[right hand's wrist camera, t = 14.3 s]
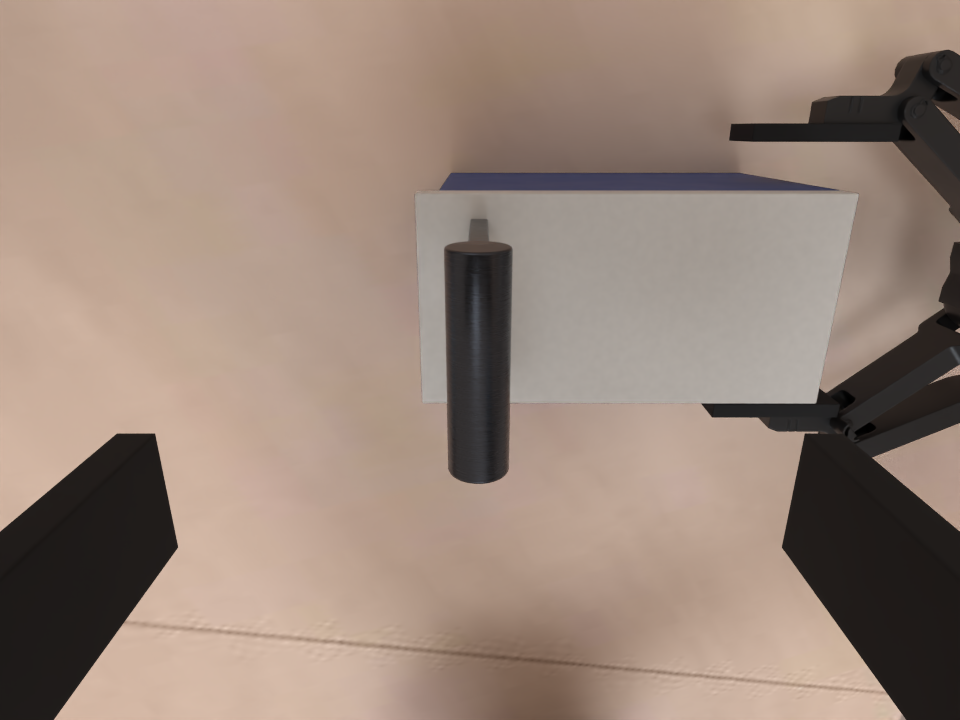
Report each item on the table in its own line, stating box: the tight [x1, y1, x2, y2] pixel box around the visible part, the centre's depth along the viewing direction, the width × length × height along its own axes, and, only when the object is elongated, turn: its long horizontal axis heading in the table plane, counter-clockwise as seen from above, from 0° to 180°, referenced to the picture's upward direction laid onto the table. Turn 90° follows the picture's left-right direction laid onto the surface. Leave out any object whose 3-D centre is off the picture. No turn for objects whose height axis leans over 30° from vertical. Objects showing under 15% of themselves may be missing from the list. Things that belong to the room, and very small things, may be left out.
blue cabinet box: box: [440, 173, 840, 191], centre depth 33 cm, size 17×9×11 cm, turn 90°
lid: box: [415, 190, 859, 484], centre depth 23 cm, size 18×9×9 cm, turn 90°
